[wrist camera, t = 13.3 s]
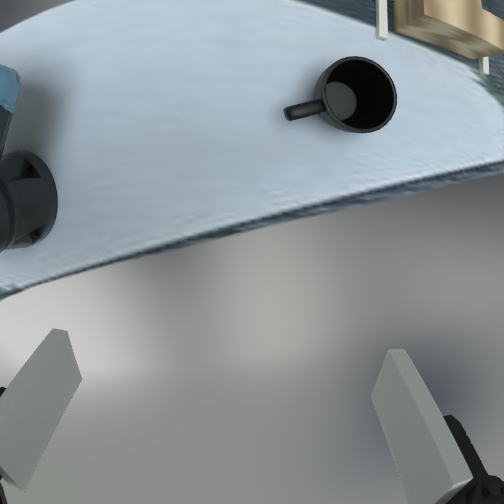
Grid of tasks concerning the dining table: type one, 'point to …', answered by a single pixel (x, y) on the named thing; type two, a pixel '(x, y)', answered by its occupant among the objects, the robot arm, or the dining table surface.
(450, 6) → the t block
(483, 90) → the dining table surface
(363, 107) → the mug
